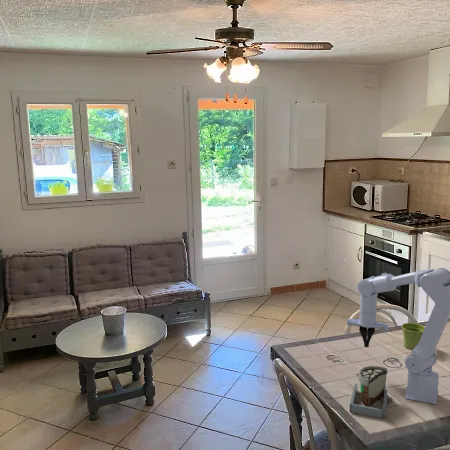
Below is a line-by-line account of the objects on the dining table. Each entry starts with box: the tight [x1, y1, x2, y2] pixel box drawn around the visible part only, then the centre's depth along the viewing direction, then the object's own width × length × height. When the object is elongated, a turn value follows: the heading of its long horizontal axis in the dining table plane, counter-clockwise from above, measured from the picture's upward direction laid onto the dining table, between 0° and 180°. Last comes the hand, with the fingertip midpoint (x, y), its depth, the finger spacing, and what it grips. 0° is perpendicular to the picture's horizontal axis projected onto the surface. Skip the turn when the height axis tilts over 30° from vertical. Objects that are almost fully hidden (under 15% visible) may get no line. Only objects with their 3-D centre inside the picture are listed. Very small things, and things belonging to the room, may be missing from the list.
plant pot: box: [401, 322, 426, 350], centre depth 190 cm, size 9×9×9 cm
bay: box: [349, 383, 388, 419], centre depth 150 cm, size 11×14×2 cm
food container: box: [357, 365, 389, 407], centre depth 153 cm, size 12×6×10 cm, turn 132°
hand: (366, 346), depth 169 cm, fingers closed
